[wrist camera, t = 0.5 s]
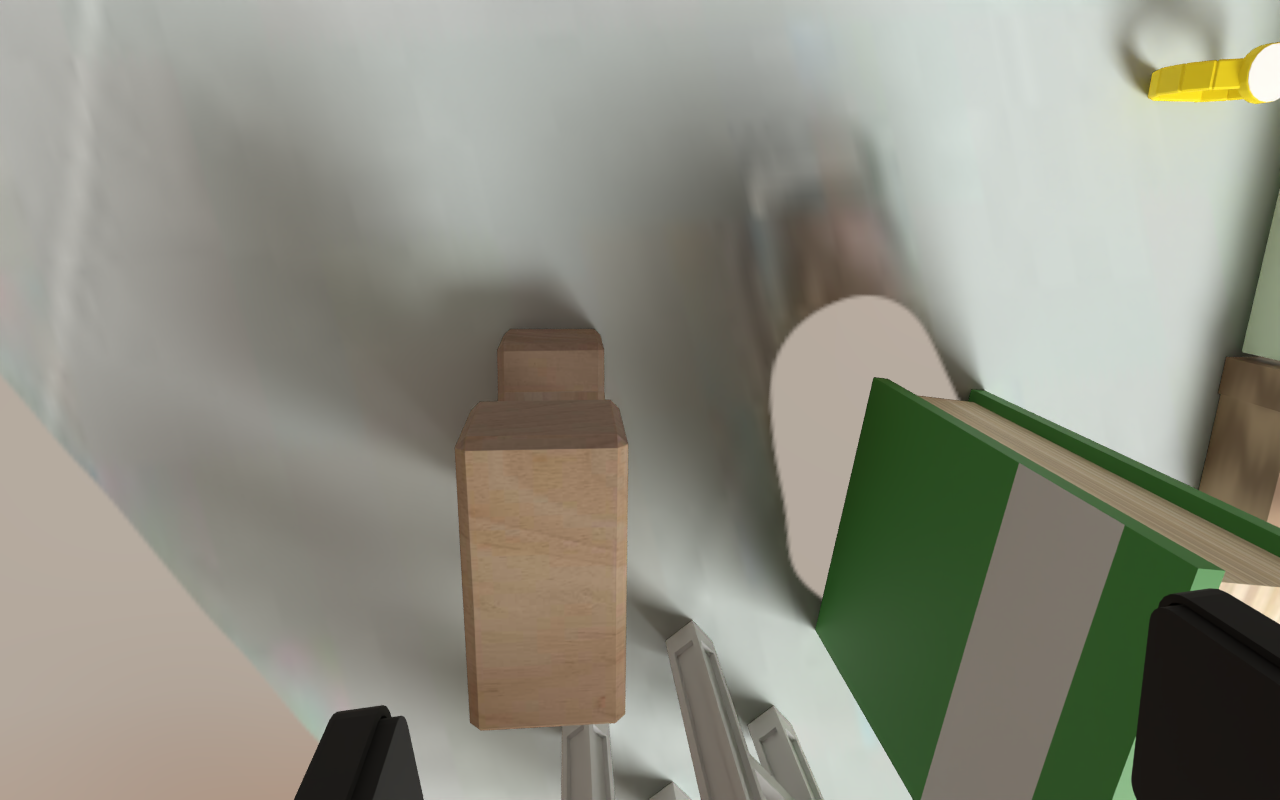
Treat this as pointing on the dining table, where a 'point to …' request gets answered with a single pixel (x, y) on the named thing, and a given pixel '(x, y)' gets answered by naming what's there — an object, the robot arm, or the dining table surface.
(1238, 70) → the watch
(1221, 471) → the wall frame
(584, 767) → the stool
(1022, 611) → the hardback book
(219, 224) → the dining table surface
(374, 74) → the dining table surface
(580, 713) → the decorative block
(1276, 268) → the pale green flat bar
